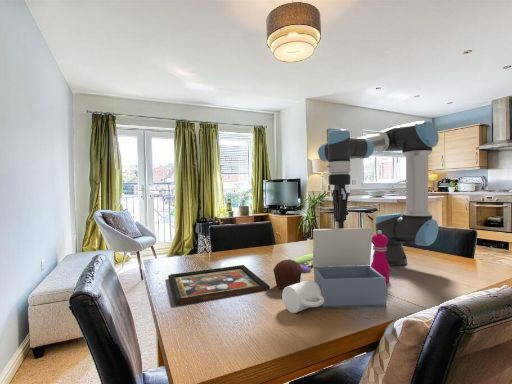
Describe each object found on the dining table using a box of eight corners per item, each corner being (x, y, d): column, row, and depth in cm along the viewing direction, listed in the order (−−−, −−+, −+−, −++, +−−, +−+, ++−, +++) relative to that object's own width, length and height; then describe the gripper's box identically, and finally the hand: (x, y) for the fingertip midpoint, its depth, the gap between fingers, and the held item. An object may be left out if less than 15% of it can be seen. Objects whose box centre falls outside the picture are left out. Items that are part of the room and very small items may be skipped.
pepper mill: (389, 277, 118) (388, 228, 117) (391, 283, 111) (390, 231, 110) (370, 276, 120) (369, 228, 119) (371, 282, 113) (370, 231, 112)
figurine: (348, 268, 133) (348, 256, 133) (294, 275, 126) (294, 262, 126) (328, 258, 151) (328, 248, 151) (280, 264, 144) (279, 253, 144)
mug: (282, 308, 93) (281, 283, 93) (304, 300, 99) (303, 276, 98) (309, 322, 83) (308, 294, 83) (332, 312, 89) (331, 286, 89)
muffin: (295, 294, 104) (294, 266, 104) (268, 289, 110) (267, 263, 110) (307, 283, 114) (306, 258, 114) (282, 279, 120) (281, 255, 120)
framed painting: (178, 311, 94) (177, 303, 93) (159, 281, 125) (159, 275, 125) (278, 289, 111) (277, 282, 111) (240, 268, 142) (240, 262, 142)
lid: (369, 265, 105) (368, 263, 106) (372, 228, 101) (371, 227, 102) (313, 266, 106) (312, 265, 106) (313, 230, 102) (313, 229, 103)
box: (369, 289, 105) (369, 265, 105) (386, 306, 91) (385, 278, 91) (314, 291, 106) (313, 267, 106) (322, 307, 92) (321, 279, 92)
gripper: (324, 174, 110) (325, 236, 111) (333, 173, 97) (334, 243, 98) (344, 174, 110) (345, 235, 111) (355, 173, 97) (356, 242, 98)
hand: (340, 239), depth 105 cm, fingers closed
